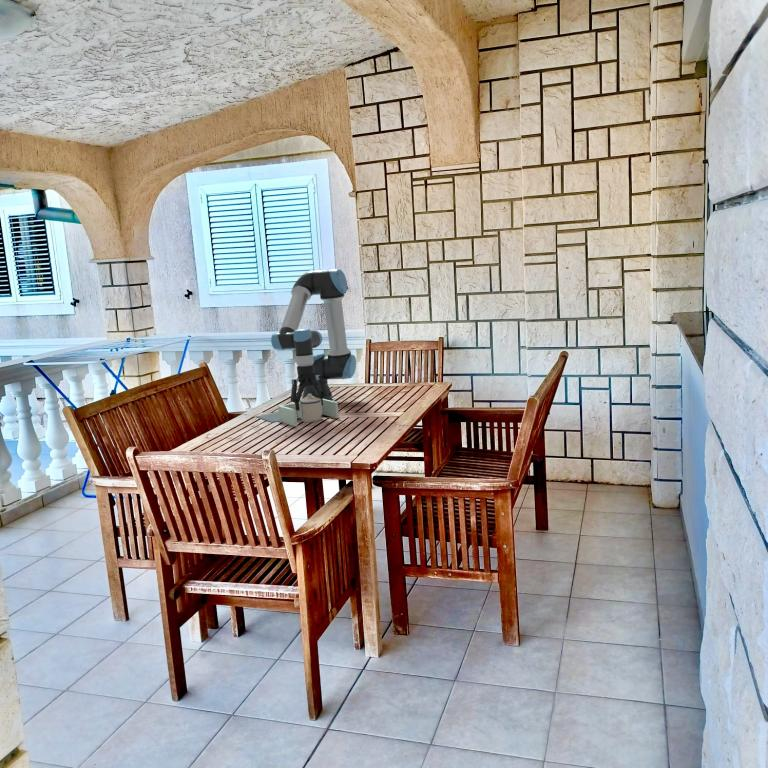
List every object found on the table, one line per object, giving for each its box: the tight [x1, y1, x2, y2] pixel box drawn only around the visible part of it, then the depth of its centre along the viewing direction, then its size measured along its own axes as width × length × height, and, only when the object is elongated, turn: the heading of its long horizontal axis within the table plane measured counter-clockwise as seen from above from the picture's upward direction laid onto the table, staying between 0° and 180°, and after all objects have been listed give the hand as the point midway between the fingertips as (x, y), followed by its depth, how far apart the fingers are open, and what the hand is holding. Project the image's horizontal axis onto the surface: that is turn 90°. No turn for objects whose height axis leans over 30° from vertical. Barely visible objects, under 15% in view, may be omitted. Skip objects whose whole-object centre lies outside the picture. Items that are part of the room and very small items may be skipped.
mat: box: [255, 412, 280, 423], centre depth 337 cm, size 18×18×1 cm
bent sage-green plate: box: [277, 399, 340, 427], centre depth 324 cm, size 21×16×7 cm
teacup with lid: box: [295, 394, 322, 423], centre depth 323 cm, size 12×9×12 cm
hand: (310, 415), depth 324 cm, fingers open, 9 cm apart
